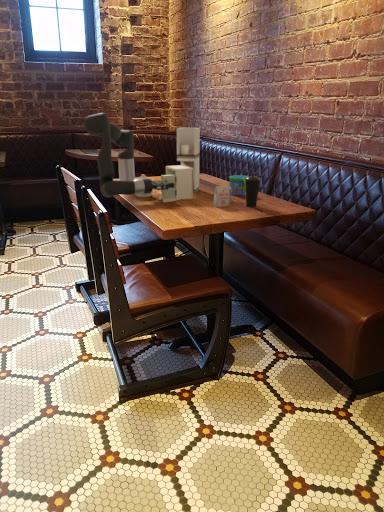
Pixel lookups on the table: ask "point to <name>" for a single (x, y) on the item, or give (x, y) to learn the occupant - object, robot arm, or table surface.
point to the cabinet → (181, 182)
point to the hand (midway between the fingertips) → (170, 183)
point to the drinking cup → (252, 189)
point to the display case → (189, 151)
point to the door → (171, 191)
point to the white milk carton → (221, 196)
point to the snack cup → (237, 185)
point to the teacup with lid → (143, 194)
